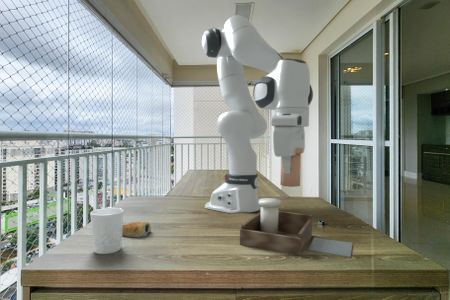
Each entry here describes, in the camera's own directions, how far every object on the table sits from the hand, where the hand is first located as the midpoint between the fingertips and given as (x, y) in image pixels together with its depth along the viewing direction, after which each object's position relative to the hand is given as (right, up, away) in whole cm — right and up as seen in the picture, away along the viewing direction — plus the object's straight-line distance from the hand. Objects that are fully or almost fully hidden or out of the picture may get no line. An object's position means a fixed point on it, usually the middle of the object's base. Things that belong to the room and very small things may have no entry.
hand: (290, 171), depth 80 cm
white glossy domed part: (-5, -19, +8) cm, 21 cm away
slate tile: (+10, -20, -2) cm, 23 cm away
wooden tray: (-3, -20, +3) cm, 20 cm away
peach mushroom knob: (0, -4, 0) cm, 4 cm away
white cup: (-48, -20, -3) cm, 52 cm away
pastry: (-44, -20, +9) cm, 50 cm away
